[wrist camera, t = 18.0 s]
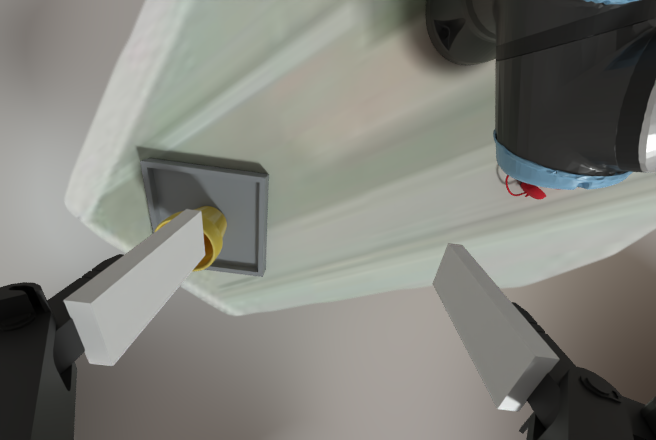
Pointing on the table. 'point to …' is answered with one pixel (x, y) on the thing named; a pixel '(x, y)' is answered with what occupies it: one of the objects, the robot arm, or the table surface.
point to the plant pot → (207, 233)
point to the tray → (221, 193)
